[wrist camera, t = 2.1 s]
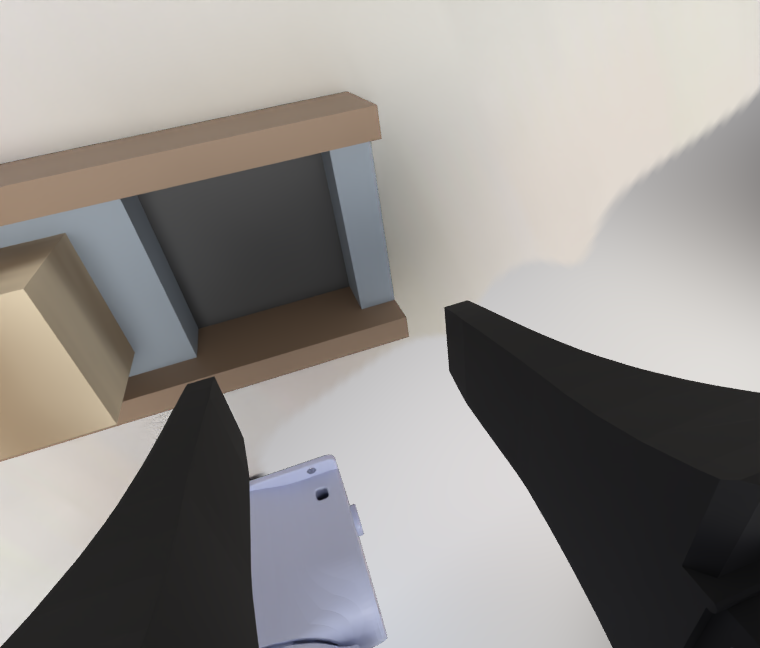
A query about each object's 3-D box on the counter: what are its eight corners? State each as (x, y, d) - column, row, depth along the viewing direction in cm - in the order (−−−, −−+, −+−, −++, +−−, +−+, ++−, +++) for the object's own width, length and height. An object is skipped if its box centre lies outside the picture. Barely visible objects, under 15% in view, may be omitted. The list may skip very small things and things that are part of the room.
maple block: (65, 232, 15) (23, 288, 12) (134, 352, 18) (116, 424, 14) (-108, 273, 14) (-205, 346, 11) (-6, 392, 17) (-58, 477, 14)
